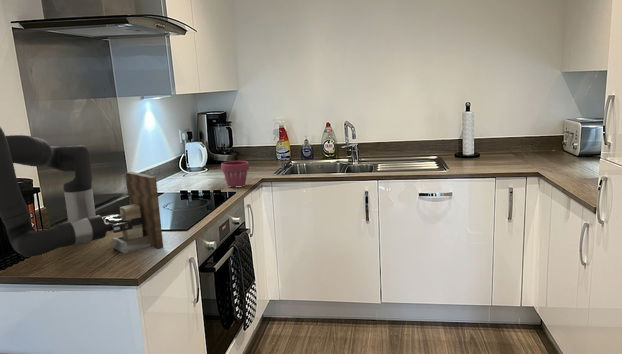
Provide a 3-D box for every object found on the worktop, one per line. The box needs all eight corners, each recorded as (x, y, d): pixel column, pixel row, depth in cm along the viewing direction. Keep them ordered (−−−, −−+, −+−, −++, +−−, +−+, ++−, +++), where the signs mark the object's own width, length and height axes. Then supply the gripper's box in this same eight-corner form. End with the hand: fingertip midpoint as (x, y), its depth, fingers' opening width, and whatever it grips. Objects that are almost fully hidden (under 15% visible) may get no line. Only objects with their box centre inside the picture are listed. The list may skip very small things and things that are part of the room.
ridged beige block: (124, 247, 161) (119, 207, 158) (140, 243, 165) (135, 203, 162) (129, 249, 158) (125, 209, 155) (145, 245, 162) (141, 205, 159)
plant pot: (254, 184, 256) (253, 160, 254) (242, 189, 244) (240, 165, 241) (231, 183, 261) (229, 160, 259) (217, 188, 249) (215, 164, 246)
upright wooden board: (107, 245, 164) (98, 176, 159) (138, 237, 172) (131, 171, 167) (130, 256, 151) (122, 182, 147) (163, 247, 159) (155, 176, 154)
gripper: (94, 222, 144) (144, 210, 155) (76, 214, 154) (125, 204, 165) (97, 245, 145) (147, 232, 156) (79, 236, 155) (128, 225, 166)
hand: (136, 218), depth 161 cm, fingers open, 8 cm apart
